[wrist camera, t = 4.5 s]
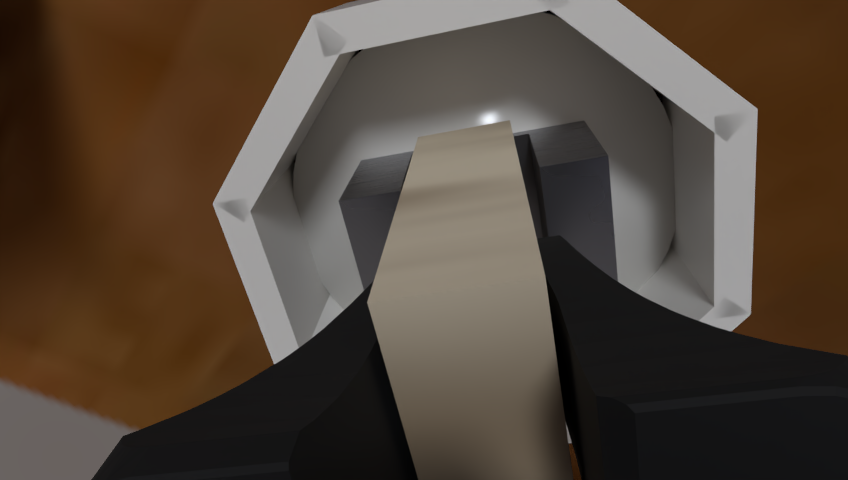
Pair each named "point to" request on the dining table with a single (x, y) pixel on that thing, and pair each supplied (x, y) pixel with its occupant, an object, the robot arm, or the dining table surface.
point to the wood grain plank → (470, 316)
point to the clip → (545, 187)
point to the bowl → (485, 104)
